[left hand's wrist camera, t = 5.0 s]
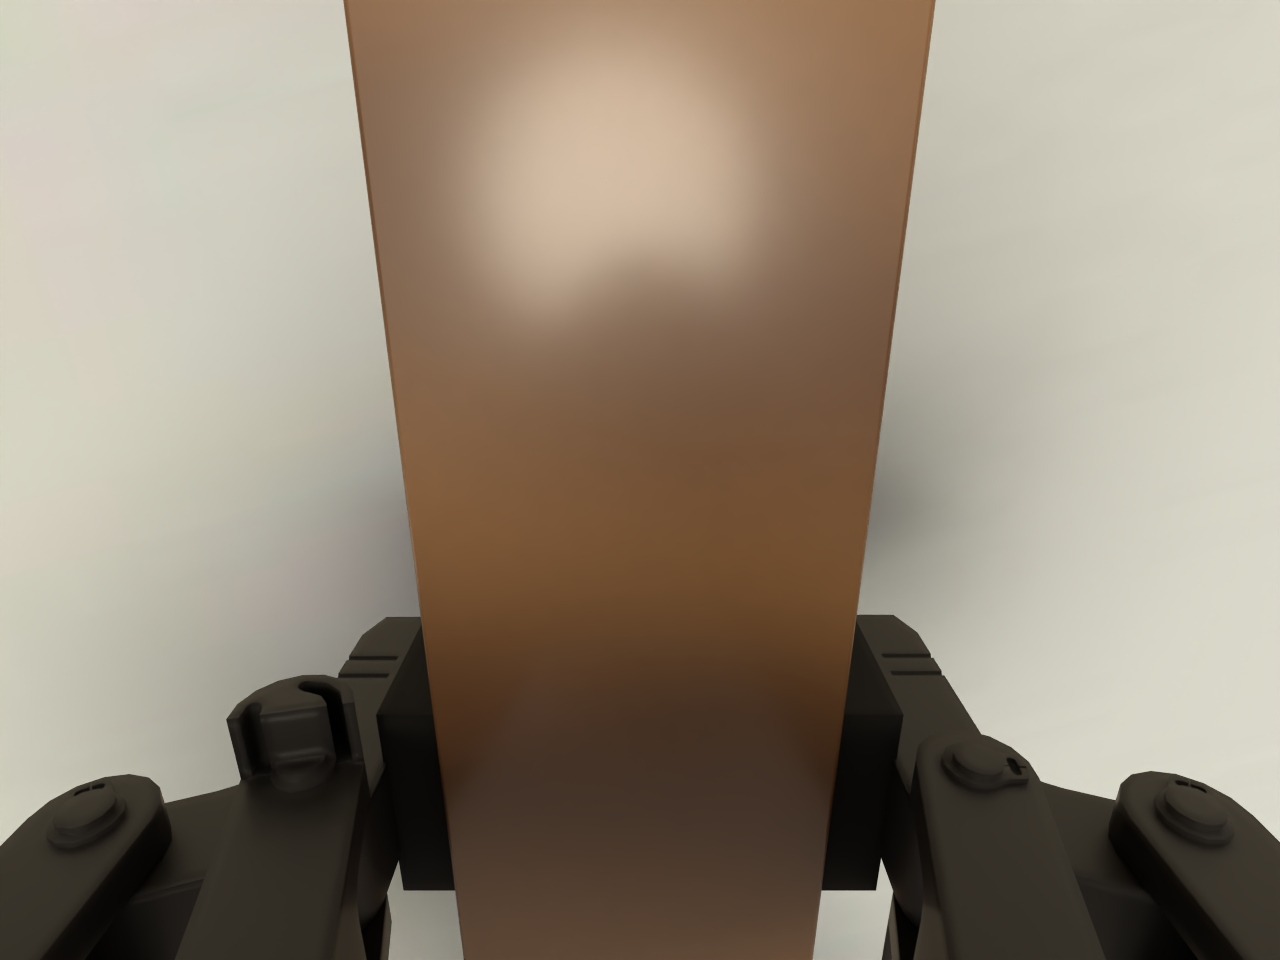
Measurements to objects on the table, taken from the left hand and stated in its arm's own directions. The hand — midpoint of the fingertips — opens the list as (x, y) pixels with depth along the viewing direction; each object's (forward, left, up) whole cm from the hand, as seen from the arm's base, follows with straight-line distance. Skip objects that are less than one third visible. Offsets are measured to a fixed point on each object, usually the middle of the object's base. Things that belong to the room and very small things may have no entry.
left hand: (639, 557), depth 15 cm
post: (+20, +15, -1) cm, 25 cm away
